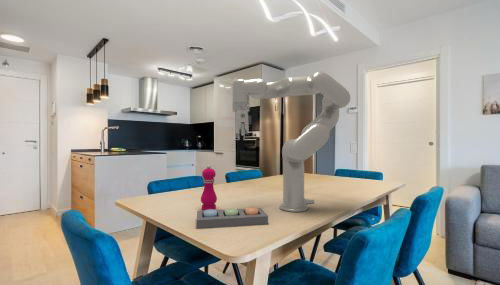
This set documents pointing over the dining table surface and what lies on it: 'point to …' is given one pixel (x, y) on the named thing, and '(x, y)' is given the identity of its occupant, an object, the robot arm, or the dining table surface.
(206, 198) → the pepper mill
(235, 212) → the sage button
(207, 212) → the blue button
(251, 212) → the terracotta button
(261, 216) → the button panel
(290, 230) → the dining table surface
